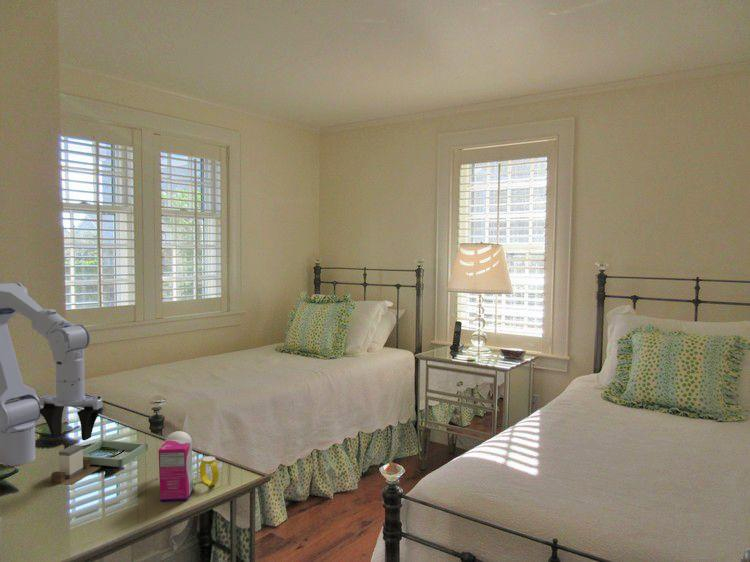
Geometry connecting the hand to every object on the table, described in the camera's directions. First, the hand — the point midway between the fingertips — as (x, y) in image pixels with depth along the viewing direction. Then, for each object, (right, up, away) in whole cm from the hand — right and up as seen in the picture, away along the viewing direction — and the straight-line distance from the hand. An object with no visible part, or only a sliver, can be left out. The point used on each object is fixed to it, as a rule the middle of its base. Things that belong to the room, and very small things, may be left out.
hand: (71, 437), depth 128 cm
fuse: (0, -9, +1) cm, 9 cm away
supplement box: (+27, -11, -7) cm, 30 cm away
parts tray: (+4, -9, +12) cm, 15 cm away
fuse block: (0, -9, +1) cm, 9 cm away
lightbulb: (+24, -10, +1) cm, 26 cm away
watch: (+32, -10, -1) cm, 34 cm away
